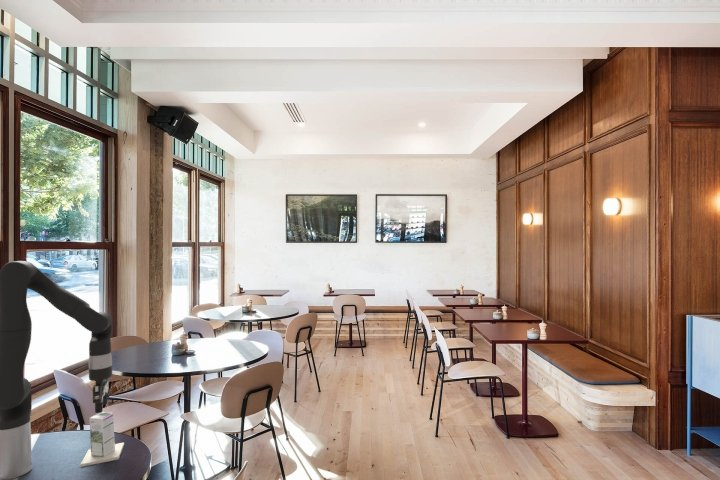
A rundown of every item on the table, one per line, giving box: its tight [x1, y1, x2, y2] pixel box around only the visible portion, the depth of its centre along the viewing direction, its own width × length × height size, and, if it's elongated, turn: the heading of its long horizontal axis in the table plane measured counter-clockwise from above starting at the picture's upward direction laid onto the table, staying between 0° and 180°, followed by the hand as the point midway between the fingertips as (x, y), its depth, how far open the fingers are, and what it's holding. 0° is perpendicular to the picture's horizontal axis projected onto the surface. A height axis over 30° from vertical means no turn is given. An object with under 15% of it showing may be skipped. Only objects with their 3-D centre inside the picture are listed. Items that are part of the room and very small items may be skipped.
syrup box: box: [89, 411, 116, 457], centre depth 155 cm, size 6×6×14 cm
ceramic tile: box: [80, 442, 125, 468], centre depth 155 cm, size 12×12×1 cm
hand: (101, 408), depth 155 cm, fingers open, 8 cm apart
